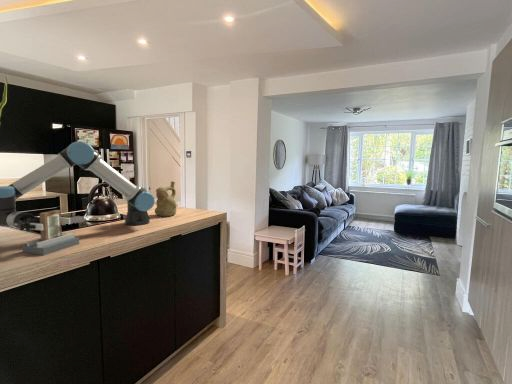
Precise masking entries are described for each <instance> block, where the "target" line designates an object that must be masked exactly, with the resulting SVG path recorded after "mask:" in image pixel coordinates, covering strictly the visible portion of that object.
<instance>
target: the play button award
mask: <svg viewBox="0 0 512 384" xmlns="http://www.w3.org/2000/svg"><path fill="white" fill-rule="evenodd" d="M84 217H85V216H81V215H76V216H71V217H69V216H68V218H70V221H71V224H70V225H72V224H73V223H74V224H78V223H85V222H84V221H86V219H84ZM86 222H87V221H86ZM61 225H62V226H67V225H66V224H64V223H61Z"/></svg>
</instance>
